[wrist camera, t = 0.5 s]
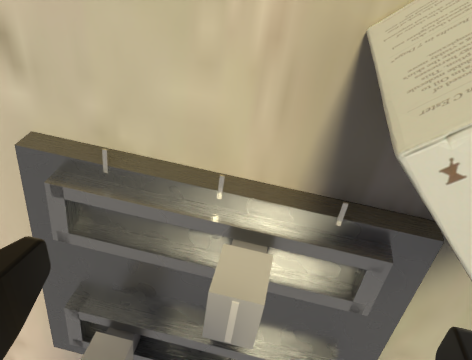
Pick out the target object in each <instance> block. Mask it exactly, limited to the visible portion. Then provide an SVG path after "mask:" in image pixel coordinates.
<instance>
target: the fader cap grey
mask: <svg viewBox="0 0 472 360" xmlns="http://www.w3.org/2000/svg"><path fill="white" fill-rule="evenodd" d="M267 249H268V247H267V246H262V245H258V244H254V243H249V242H245V241H241V240H237V239H233V241H232V244H231V245H228V244H224V245H223V248H222V251H221V254H220V257H219V260H218V264H217V267H216V270H215V273H214V276H213V279H212V282H211V286H210V289H209V292H208V299H207V306H206V313H205V320H204V327H203V334H202V337H204V338H208V339H212V340H216V341H220V342H224V343H228V344H232V345H236V346H240V347H243V348H247V349H251V350H253V347H254V343H255V339H256V336H257V332H258V328H259V324H260V321H261V317H262V313H263V309H264V305H265V300H266V294H267V288H268V283H269V277H270V271H271V266H272V260H273V255H270V254H267Z"/></svg>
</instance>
